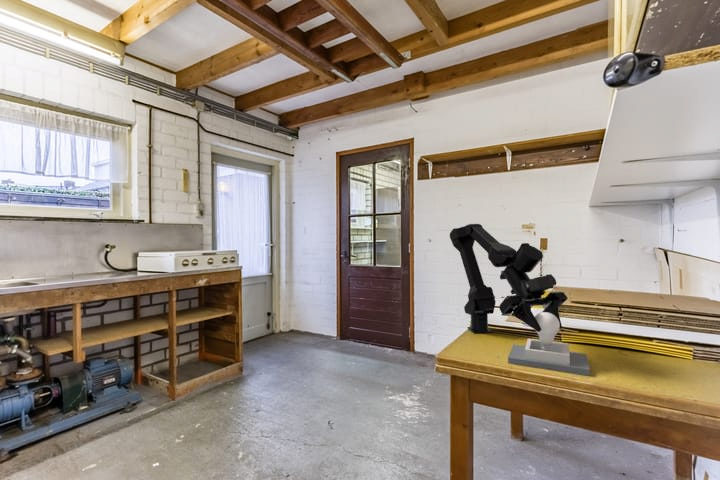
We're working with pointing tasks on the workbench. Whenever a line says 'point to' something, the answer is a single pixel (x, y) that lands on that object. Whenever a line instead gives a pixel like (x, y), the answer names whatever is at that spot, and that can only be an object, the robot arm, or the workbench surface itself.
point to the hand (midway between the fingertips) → (550, 329)
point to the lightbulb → (547, 329)
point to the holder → (549, 357)
